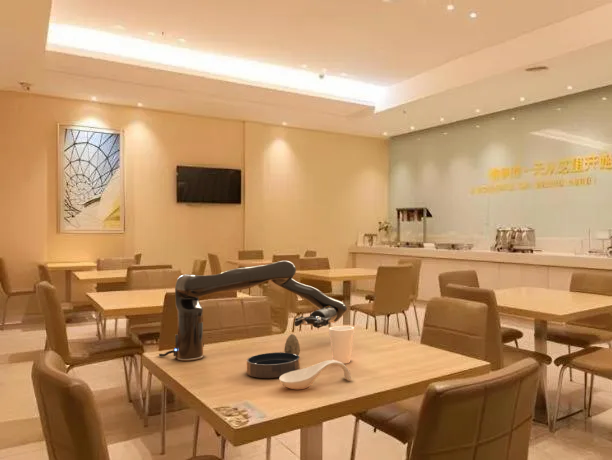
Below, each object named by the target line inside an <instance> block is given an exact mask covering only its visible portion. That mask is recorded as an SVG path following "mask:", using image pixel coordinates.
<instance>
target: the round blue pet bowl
mask: <svg viewBox="0 0 612 460" xmlns="http://www.w3.org/2000/svg"><path fill="white" fill-rule="evenodd" d="M300 369H301V357H300V354H299V355H297V354H293V353H285V352H284V351H283V352H281V351H279V352H275V351H274V352H266V353H260V354H259V353H258V354H255V355H252V356H250V357H248V358H247V359H246V375H248V376H249V377H254V378H257V379H279V377H280V376H281V375H283V374H285V373H288V372H291V371H295V370H300Z"/></svg>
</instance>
